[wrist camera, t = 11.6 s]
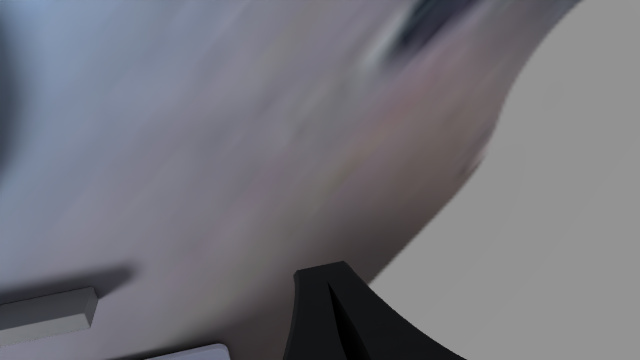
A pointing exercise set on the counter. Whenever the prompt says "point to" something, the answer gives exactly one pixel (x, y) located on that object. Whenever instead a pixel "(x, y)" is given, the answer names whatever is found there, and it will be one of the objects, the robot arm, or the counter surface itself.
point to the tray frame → (47, 316)
